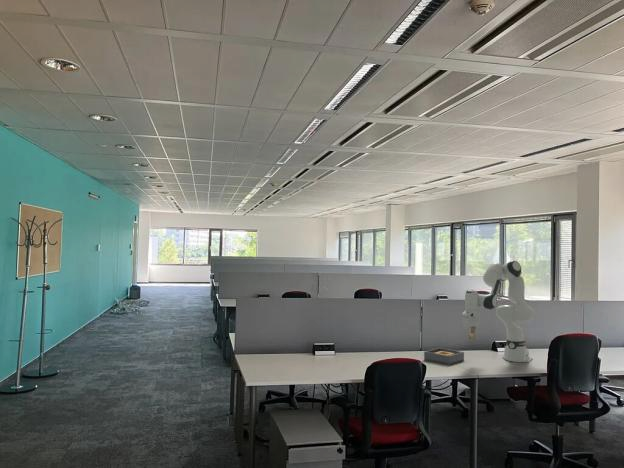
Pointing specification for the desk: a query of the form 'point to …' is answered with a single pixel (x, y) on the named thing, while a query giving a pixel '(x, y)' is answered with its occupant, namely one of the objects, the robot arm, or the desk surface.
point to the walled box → (444, 356)
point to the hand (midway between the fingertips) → (471, 332)
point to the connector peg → (472, 335)
